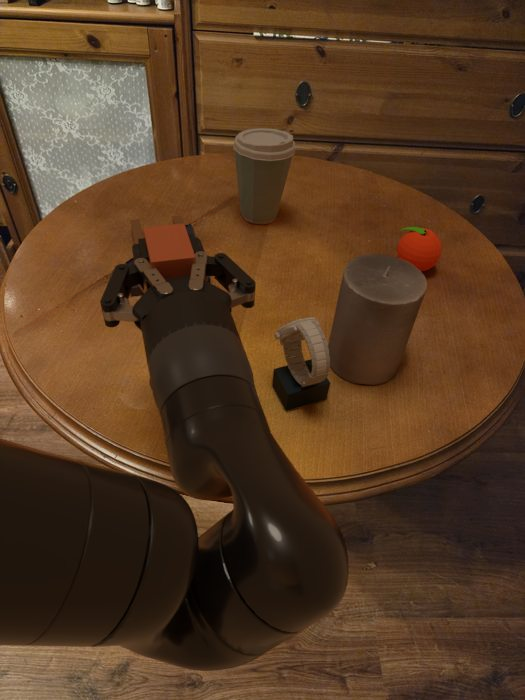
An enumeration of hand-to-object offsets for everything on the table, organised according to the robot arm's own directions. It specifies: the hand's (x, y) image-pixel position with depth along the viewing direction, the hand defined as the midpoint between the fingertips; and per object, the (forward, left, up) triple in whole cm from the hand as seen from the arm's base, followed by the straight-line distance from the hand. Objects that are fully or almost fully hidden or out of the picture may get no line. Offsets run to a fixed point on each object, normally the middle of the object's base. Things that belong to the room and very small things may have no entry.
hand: (165, 244), depth 50 cm
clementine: (+15, +41, -19) cm, 48 cm away
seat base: (-18, +17, -19) cm, 31 cm away
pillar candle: (+18, +16, -19) cm, 31 cm away
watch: (+14, +6, -19) cm, 25 cm away
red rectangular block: (+2, -2, -8) cm, 8 cm away
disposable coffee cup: (-14, +39, -19) cm, 46 cm away
